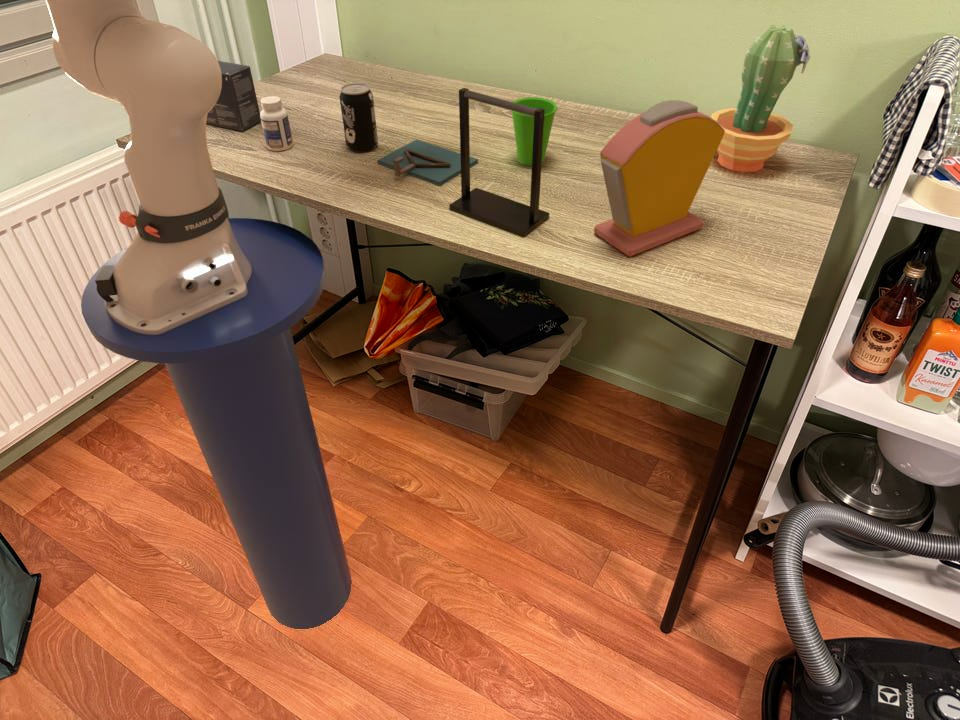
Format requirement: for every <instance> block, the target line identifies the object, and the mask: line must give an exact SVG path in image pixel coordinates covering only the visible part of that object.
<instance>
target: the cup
mask: <svg viewBox="0 0 960 720" xmlns="http://www.w3.org/2000/svg"><path fill="white" fill-rule="evenodd" d="M512 102H514V103H517V104H521V105H525V106H528V107H532V108H536V109H539V108H541V109H545V113H544V130H543V147H542V164H543V163H544V161H545V158H546V154H547V149H548V145H549V141H550V135H551V131H552V126H553V122H554V119H555V114H556V112H558V111H557V110H558V104H557V103H556V102H554V101H553V100H551V99H548V98H544V97H538V96H537V97H536V96H534V97H533V96H529V97H521V98H518V99H515V100H513V101H512ZM511 116H512V123H513V130H514V138H515V146H516V154H517V160H518V162H519V164H521V165H523V166H527V167H532V153H533V133H534V117H533V116H530V115H526V114H523V113H519V112H515V111H512V110H511Z"/></svg>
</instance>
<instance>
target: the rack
mask: <svg viewBox="0 0 960 720" xmlns="http://www.w3.org/2000/svg"><path fill="white" fill-rule="evenodd" d="M470 100H472V101H475V102H479V103H482V104H483V103H484V104H487V105H491V106H495V107H498V108H502V109H505V110H509V111H511V112H512V111H515V112H519V113H523V114H526V115H530V116H533V117H534V133H533V153H532V166H531V175H530V176H531V177H530V180H531V181H530V194H529V195H530V196H529V205H527V204H524V203H522V202H519V201H516V200H513V199H511V198H507V197H505V196H501V195H500V194H496V193H493V192H490V191H487V190H485V189H482V188H478V187H474V188H473V189H471V167H470V157H471V154H470V153H471V152H470V151H471V150H470V149H471V147H470V146H471V145H470ZM458 112H459V113H458V115H459V149H460V150H459V153H460V156H461V173H460V190H461V191H460V192H461V196H460V197H459V198H458V199H456V200H453V202H451V203H449V205H448V207H449V208H448V209H449V210H450V211H452V212H455V213H458V214H460V215H464V216H466V217H468V218H471V219H475V220H477V221H479V222H482V223H485V224H487V225H490V226H493V227H495V228H498V229H500V230H503V231H506V232H507V233H508V232H509V233H510V234H514V235H517V236H519V237H522V238H525V237H526V236H528V235H529V234H530V233H532V232H533V231H534V230H535V229H537V228H538V227H539V226H540V225H542V224H543V223H544V222H546V221H548V219H550V212H548V211H545V210H542V209H540V196H541V195H540V194H541V179H542V165H543V163H542V147H543V130H544V113H545V109H541V108H539V109H536V108H532V107H528V106H525V105H521V104H517V103H514V102H513V101H509V100H505V99H502V98H498V97H494V96H491V95H487V94H483V93H481V92H476V91H472V90H470V89H469V88H466V87H462V88H460V89H458Z"/></svg>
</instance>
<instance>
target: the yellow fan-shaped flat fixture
mask: <svg viewBox="0 0 960 720" xmlns="http://www.w3.org/2000/svg"><path fill="white" fill-rule="evenodd" d="M698 109H699V106H697V105H695V104H692V103H690V102H688V101H685V100H679V99H677V100H674V99H673V100H672V99H671V100H664V101H663V100H662V101H661V102H659V103H656V104H654V105H652V106H651V107H649V108H648V109H647V110H645V111H644V112H641V113H640V114H638V115H637V116H636V117H634V118H632V119H631V120H630V121H628V122H626V124H625V125H624V126H623V127H621V129H619V131H617V132H616V133H615V134H614V135H613V136H612V137H611V138H610V140H608V142H607V143H606V144H605V146H604V147H603V148H602V149H601V150H600V153H599V155H600V165H601V169H602V174H603V179H604V185H605V188H606V193H607V198H608V203H609V207H610V212H611V216H612V218H611V219H608V220H605V221H603V222H600V223H597V224H596V225H594V230H593V233H594V234H595V235H597V236H598V237H599V238H601V239H603V240H604V241H605V242H607V243H608V244H610V245H611V246H613V247H614V248H616V249H617V250H619V251H620V252H621V253H623V254H624V255H626V256H627V257H629V258H630V257H633V256H636V255H638V254H641V253H643V252H646V251H648V250H650V249H653V248H655V247H658V246H660V245H663V244H666V243H667V242H671V241H673V240H675V239H678V238H682V237H683V236H686V235H687V234H690V233H693V232H696V231H698V230H701V229H703V225H704V220H702V219H701V218H700V217H698V216H696V215H694V214H692V212H689V211H690V209H691V207H692V204H693V202H694V200H695V198H696V196H697V194H698V191H699V189H700V188H701V186H702V185H701V184H702V183H703V181H704V178H705V176H706V174H707V172H708V170H709V169H710V166H711V164H712V162H713V159H714V157H715V155H716V154H717V152H718V151H717V149H718V147H719V145H720V142H721V140H722V138H723V136H724V134H725V133H724V132H725V130H724V129H723V128H722V127H721V125H720V124H719V123H718V122H717V121H715V120H714V119H712V118H711V116H708V115H707V114H706V113H705V114H704V113H703V112H700V111H698Z"/></svg>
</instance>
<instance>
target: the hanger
mask: <svg viewBox="0 0 960 720" xmlns="http://www.w3.org/2000/svg"><path fill="white" fill-rule="evenodd" d="M404 152H405V154H406V156H407V158H408V160H409V162H410V165H408V166H406V167H404V168H403V169H401V170H400V162H402V161H404V158H403V157H398V158H396V159H394V160H393V164H394V169H393V174H394V176H395V177H396V178H400V177H401V176H403V175H405V174H406V173H407V172H408V171H410V170H412V169H414V168H415V167H450V166H451V164H450V163H447V162H444V161H441V160H438V159H435V158H432V157H429V156H426V155H423V154H420V153H417V152H414V151H411V150H408V149H404ZM411 155H413V156H416V157H419V158H422V159H425V160H428V161H431V162H434V163H415V162H414V161H413V159H412V157H411Z"/></svg>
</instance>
